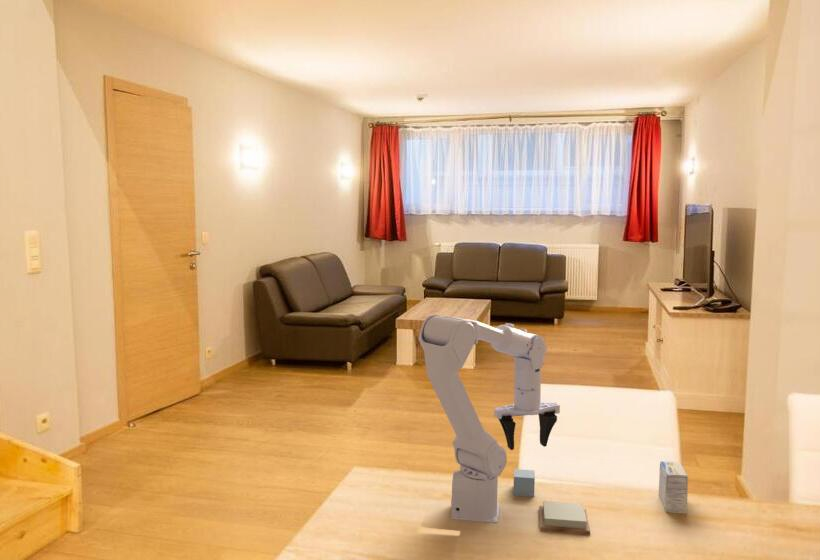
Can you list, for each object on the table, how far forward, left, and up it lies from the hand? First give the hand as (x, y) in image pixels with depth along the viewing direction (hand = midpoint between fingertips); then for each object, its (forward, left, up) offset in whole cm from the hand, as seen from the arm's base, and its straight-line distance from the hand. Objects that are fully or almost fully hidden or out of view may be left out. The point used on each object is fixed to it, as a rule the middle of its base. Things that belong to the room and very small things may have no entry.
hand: (527, 446), depth 147 cm
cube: (0, -1, -11) cm, 11 cm away
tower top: (+8, -13, -10) cm, 18 cm away
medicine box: (+31, -2, -11) cm, 32 cm away
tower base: (+8, -13, -11) cm, 19 cm away
